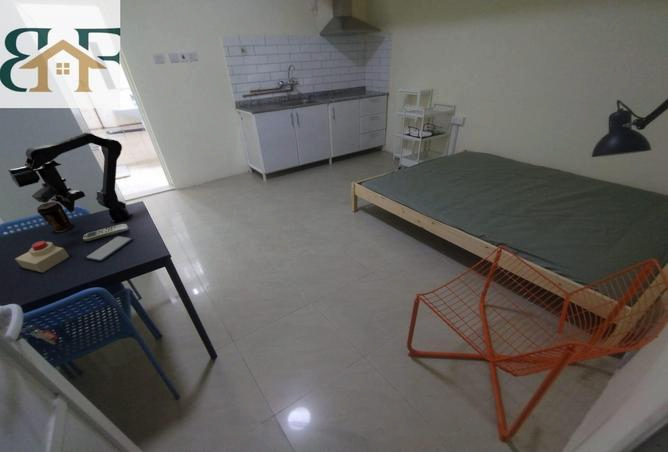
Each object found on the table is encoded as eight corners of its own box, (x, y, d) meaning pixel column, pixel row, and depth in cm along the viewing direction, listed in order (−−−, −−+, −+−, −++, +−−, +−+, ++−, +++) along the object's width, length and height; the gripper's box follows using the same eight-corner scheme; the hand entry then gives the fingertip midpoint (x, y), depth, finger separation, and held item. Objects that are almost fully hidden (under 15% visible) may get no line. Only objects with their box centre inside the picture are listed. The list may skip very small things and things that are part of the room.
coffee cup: (56, 226, 136) (39, 202, 129) (76, 221, 139) (61, 198, 132) (49, 235, 129) (32, 211, 122) (71, 230, 132) (55, 206, 125)
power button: (43, 244, 113) (40, 240, 112) (50, 245, 112) (47, 241, 111) (32, 250, 110) (28, 246, 108) (39, 251, 109) (35, 247, 107)
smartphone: (85, 257, 113) (117, 235, 125) (86, 258, 114) (118, 237, 125) (100, 260, 111) (132, 238, 123) (101, 262, 112) (133, 239, 123)
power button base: (49, 252, 118) (40, 239, 115) (69, 256, 115) (60, 244, 112) (22, 267, 110) (11, 254, 107) (42, 272, 107) (32, 259, 104)
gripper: (13, 184, 110) (36, 218, 118) (46, 188, 105) (67, 223, 114) (44, 173, 119) (64, 206, 127) (76, 177, 114) (94, 210, 123)
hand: (72, 211), depth 122 cm, fingers closed
